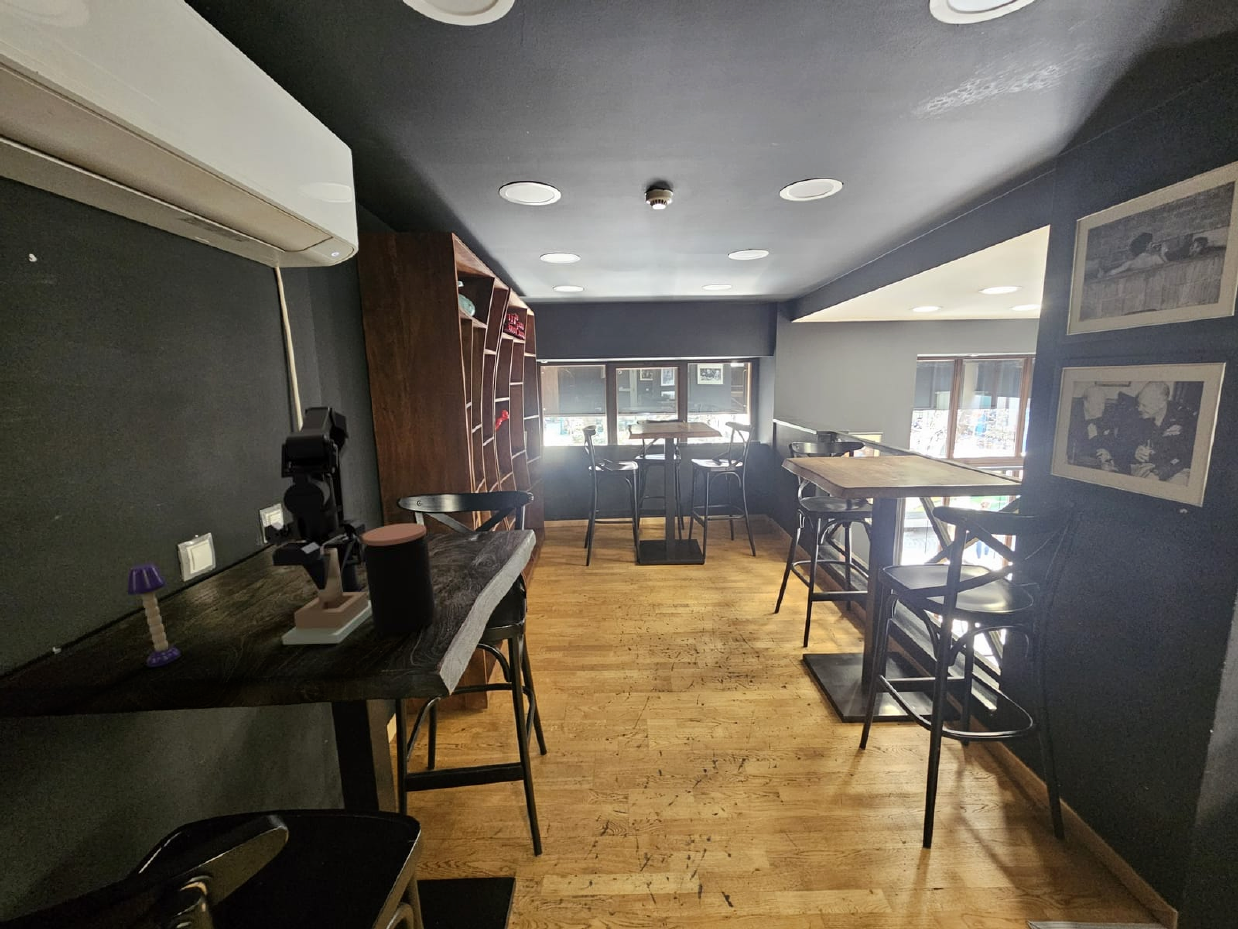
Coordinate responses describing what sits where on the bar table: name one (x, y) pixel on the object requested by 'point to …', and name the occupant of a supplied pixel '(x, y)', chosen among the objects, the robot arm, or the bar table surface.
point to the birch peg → (332, 579)
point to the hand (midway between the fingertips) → (329, 584)
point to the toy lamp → (152, 610)
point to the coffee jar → (399, 578)
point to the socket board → (329, 619)
